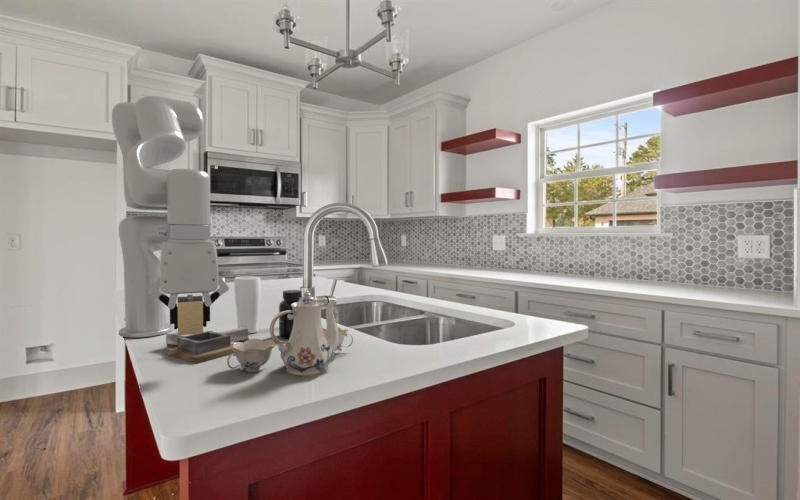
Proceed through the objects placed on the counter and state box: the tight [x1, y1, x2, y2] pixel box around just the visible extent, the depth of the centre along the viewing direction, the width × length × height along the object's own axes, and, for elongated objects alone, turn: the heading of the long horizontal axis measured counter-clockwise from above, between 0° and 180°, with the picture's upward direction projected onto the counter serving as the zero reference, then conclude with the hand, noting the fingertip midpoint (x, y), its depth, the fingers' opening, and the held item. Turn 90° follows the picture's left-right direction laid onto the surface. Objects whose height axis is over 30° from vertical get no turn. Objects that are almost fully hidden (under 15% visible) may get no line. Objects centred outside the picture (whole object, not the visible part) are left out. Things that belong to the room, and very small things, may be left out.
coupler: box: [176, 294, 204, 336], centre depth 86 cm, size 4×4×7 cm
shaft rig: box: [165, 327, 250, 364], centre depth 104 cm, size 17×16×4 cm
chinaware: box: [226, 290, 354, 377], centre depth 92 cm, size 28×17×17 cm, turn 135°
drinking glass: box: [233, 275, 262, 335], centre depth 119 cm, size 7×7×15 cm
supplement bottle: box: [278, 289, 303, 340], centre depth 115 cm, size 7×7×12 cm
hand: (190, 325), depth 86 cm, fingers closed on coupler, 4 cm apart
